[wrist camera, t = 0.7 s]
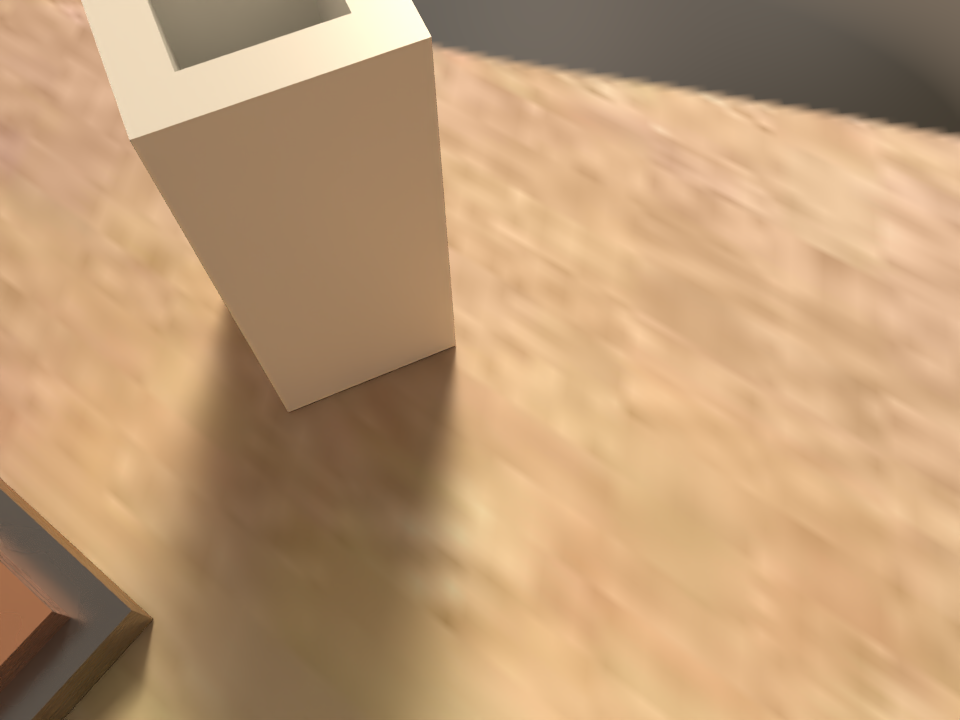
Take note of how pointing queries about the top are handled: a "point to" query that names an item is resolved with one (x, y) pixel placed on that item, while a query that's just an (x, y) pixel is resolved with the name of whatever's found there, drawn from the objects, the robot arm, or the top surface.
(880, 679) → the top surface
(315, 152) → the sleeve
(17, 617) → the seat plate
